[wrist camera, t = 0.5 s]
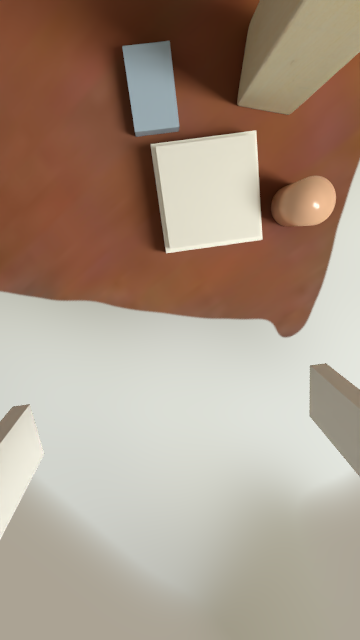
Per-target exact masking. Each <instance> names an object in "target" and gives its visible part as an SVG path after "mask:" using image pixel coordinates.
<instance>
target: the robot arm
mask: <svg viewBox="0 0 360 640" xmlns="http://www.w3.org/2000/svg"><path fill="white" fill-rule="evenodd" d="M310 417H311V418H312V419H313V421H314V422H315V423H316V424H317V425H318V427H319V428H320V429H321V430H322V431H323V433H324V434H325V435H326V436H327V438H328V439H329V440H330V441H331V442H332V444H333V445H334V446H335V447H336V448H337V450H338V451H339V452H340V453H341V454H342V456H343V457H344V458H345V459H346V460H347V462H348V463H349V464H350V465H351V467H352V468H353V469H354V470H355V471H356V473H357V474H358V475H359V476H360V390H359V389H358V388H357V387H355V386H354V385H353V384H352V383H350V382H349V381H348V380H346V379H345V378H344V377H343V376H341V375H340V374H339V373H337V372H336V371H335V370H334V369H332V368H331V367H330V366H328V365H327V364H326V363H325V364H318V365H311V366H310ZM43 456H44V451H43V448H42V445H41V441H40V438H39V434H38V431H37V427H36V424H35V421H34V417H33V414H32V410H31V407H30V404H28V405H22V406H14V407H12V408H11V409H10V411H9V412H8V413H7V414H6V415H5V417H4V418H3V419H2V420H1V421H0V539H1V537H2V535H3V533H4V531H5V529H6V527H7V525H8V523H9V522H10V520H11V518H12V515H13V514H14V512H15V510H16V508H17V506H18V504H19V502H20V500H21V498H22V496H23V494H24V492H25V490H26V489H27V487H28V485H29V483H30V481H31V479H32V477H33V475H34V473H35V471H36V469H37V467H38V465H39V463H40V462H41V459H42V458H43Z"/></svg>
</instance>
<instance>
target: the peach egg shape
mask: <svg viewBox="0 0 360 640" xmlns="http://www.w3.org/2000/svg"><path fill="white" fill-rule="evenodd" d="M335 202H336V194H335V190H334V187H333V185H332V184H331V183H330V182H329V181H328V180H327V179H326V178H324V177H321V176H311V177H308V178H305V179H303V180H300V181H297V182H295V183H292V184H290V185H287V186H285V187H283V188H281V189H280V190H279V191H278V192H277V193H276V194H275V195H274V197H273V200H272V203H271V213H272V216H273V218H274V220H275V221H276V222H277V223H278V224H280V225H282V226H285V227H294V226H307V225H316V224H319V223H321V222H323V221H324V220H326V219H327V218H328V217H329V215H330V214H331V213H332V211H333V209H334V206H335Z"/></svg>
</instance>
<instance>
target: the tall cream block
mask: <svg viewBox="0 0 360 640" xmlns="http://www.w3.org/2000/svg"><path fill="white" fill-rule="evenodd" d="M359 52H360V0H260V1H259V4H258V6H257V8H256V11H255V13H254V15H253V17H252V20H251V22H250V25H249V29H248V34H247V40H246V46H245V53H244V59H243V66H242V72H241V79H240V85H239V92H238V99H237V104H238V105H239V106H243V107H248V108H253V109H259V110H265V111H269V112H276V113H281V114H287V115H289V114H291V113H292V112H293V111H294V110H295V109H297V108H298V107H299V106H300V105H301V104H302V103H303V102H304V101H306V100H307V99H308V98H309V97H310V96H311V95H312V94H313V93H314V92H316V91H317V90H318V89H319V88H320V87H321V86H322V85H323V84H324V83H326V82H327V81H328V80H329V79H330V78H331V77H332V76H333V75H334V74H335V73H337V72H338V71H339V70H340V69H341V68H342V67H343V66H344V65H346V64H347V63H348V62H349V61H350V60H351V59H352V58H353V57H354V56H355V55H357V54H358V53H359Z"/></svg>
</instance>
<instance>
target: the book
mask: <svg viewBox="0 0 360 640" xmlns="http://www.w3.org/2000/svg"><path fill="white" fill-rule="evenodd" d="M122 48H123V55H124V62H125V68H126V75H127V82H128V89H129V95H130V102H131V109H132V115H133V122H134V129H135V134H136V137H137V136H146V135H154V134H162V133H170V132H178V131H179V119H178V111H177V102H176V93H175V84H174V75H173V66H172V57H171V48H170V41H163V42H154V43H145V44H136V45H127V46H122Z"/></svg>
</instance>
